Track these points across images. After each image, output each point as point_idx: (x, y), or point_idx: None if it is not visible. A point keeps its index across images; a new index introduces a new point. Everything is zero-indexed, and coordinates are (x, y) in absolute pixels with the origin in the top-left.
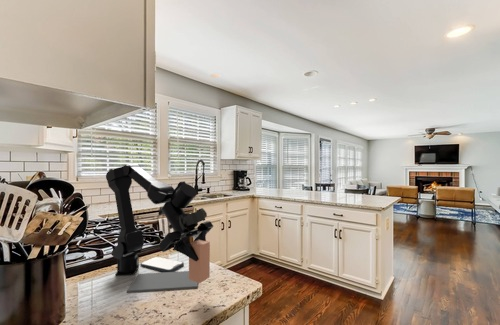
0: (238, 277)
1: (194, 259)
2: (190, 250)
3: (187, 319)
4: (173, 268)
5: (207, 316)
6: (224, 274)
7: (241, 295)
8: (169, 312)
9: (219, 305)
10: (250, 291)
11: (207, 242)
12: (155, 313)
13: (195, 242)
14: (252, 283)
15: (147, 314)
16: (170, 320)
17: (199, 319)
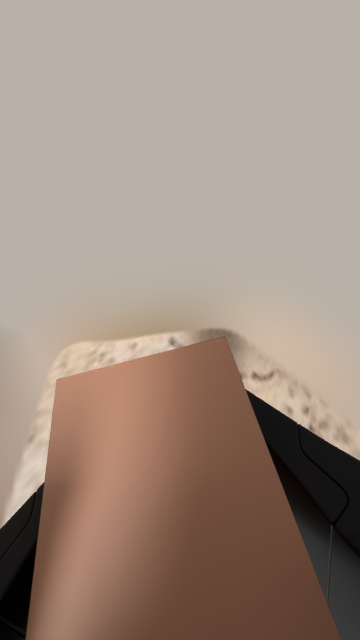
0: (43, 421)
1: None
2: (302, 430)
3: (259, 353)
4: None
5: (220, 334)
6: (40, 484)
7: (119, 343)
8: (289, 412)
9: (178, 347)
10: (95, 342)
11: (90, 376)
12: (328, 440)
13: (196, 547)
14: (60, 364)
15: (353, 456)
16: (295, 378)
17: (238, 336)
